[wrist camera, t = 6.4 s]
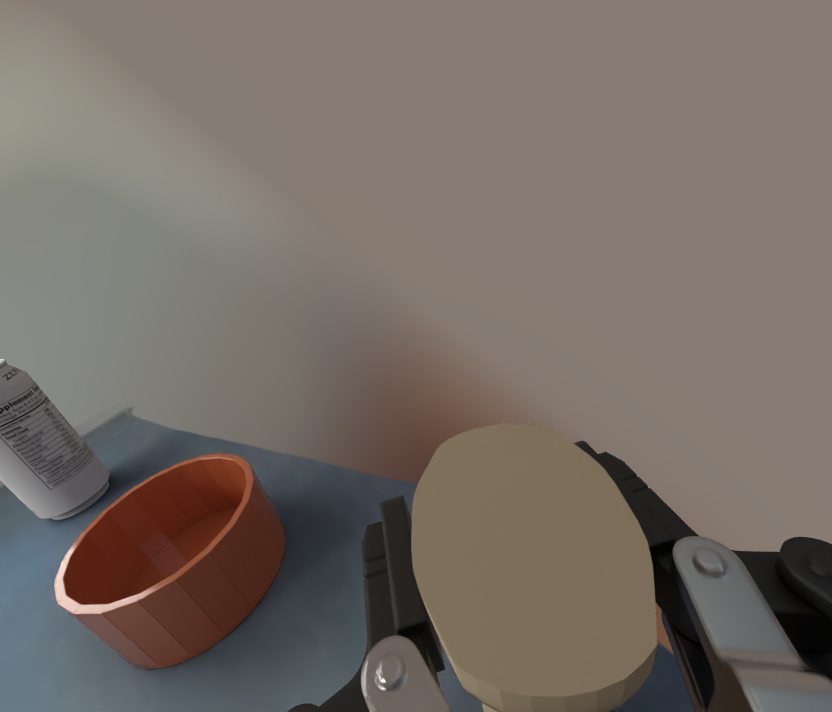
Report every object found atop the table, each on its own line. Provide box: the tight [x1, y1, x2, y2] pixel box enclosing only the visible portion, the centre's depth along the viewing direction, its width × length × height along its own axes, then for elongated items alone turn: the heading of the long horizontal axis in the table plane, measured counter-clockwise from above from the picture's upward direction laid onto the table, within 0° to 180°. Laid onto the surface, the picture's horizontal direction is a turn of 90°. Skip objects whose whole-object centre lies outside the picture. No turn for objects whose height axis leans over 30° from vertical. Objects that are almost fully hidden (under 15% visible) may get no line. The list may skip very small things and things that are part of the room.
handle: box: [411, 423, 657, 712], centre depth 12 cm, size 5×6×15 cm
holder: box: [54, 453, 285, 669], centre depth 25 cm, size 11×11×6 cm
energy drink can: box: [0, 359, 110, 520], centre depth 34 cm, size 6×6×15 cm
